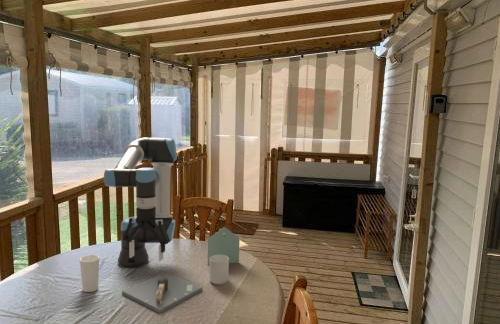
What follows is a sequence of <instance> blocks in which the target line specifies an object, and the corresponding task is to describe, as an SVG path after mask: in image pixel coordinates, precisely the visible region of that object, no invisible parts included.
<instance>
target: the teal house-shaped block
mask: <svg viewBox="0 0 500 324" xmlns="http://www.w3.org/2000/svg"><path fill="white" fill-rule="evenodd" d="M214 255H225V256H227V257H228V258H229V264H240V236H238V235H236V234H235V233H233V231H230V230H229V229H228V228H227V227H226V226H223V227H222V228H220V229H219V230H218V231H217V232H215V233H214V234H212V235H211V236H210V237H208V239H207V265H210V257H211V256H214Z"/></svg>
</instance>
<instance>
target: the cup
mask: <svg viewBox="0 0 500 324" xmlns="http://www.w3.org/2000/svg"><path fill="white" fill-rule="evenodd" d="M79 264H80V275H81V286H82V292H85V293H92V292H94V291H97V290H98V289H99V279H100V278H99V276H100V274H99V271H100V256H99V255H97V254H87V255H84V256H81V257H80V258H79Z"/></svg>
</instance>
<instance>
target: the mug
mask: <svg viewBox="0 0 500 324" xmlns="http://www.w3.org/2000/svg"><path fill="white" fill-rule="evenodd" d="M229 265H230V263H229V258H228V257H227V256H225V255H214V256H211V257H210V264H209V271H208V272H209V277H208V278H209V281H210V282H211V283H212V284H214V285H220V286H221V285H224V284H226V283H227V282H228V281H229V270H230V269H229V268H230V266H229Z"/></svg>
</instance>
